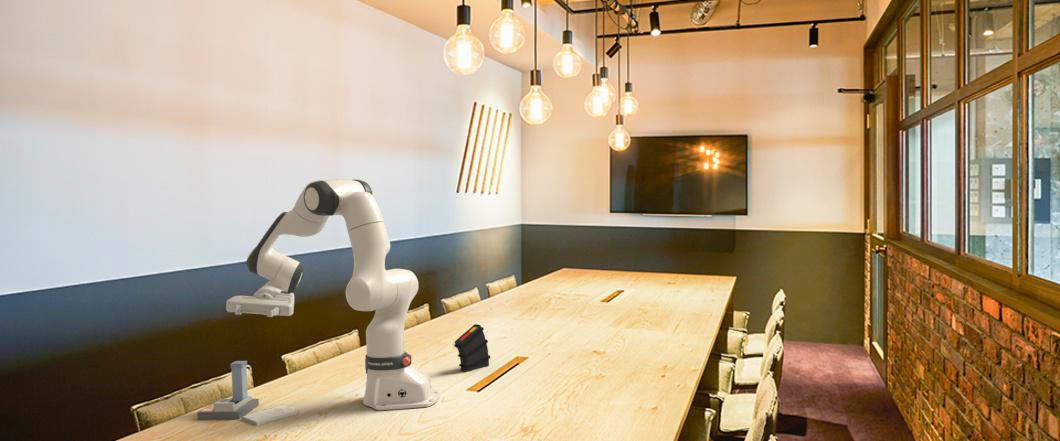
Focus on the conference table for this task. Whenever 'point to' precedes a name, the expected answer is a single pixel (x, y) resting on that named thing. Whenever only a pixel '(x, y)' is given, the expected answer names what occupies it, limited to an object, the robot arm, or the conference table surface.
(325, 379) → the conference table surface
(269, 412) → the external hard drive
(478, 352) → the magazine
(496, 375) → the conference table surface
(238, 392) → the switch tab
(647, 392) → the conference table surface
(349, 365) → the conference table surface
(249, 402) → the grey stepped square base
